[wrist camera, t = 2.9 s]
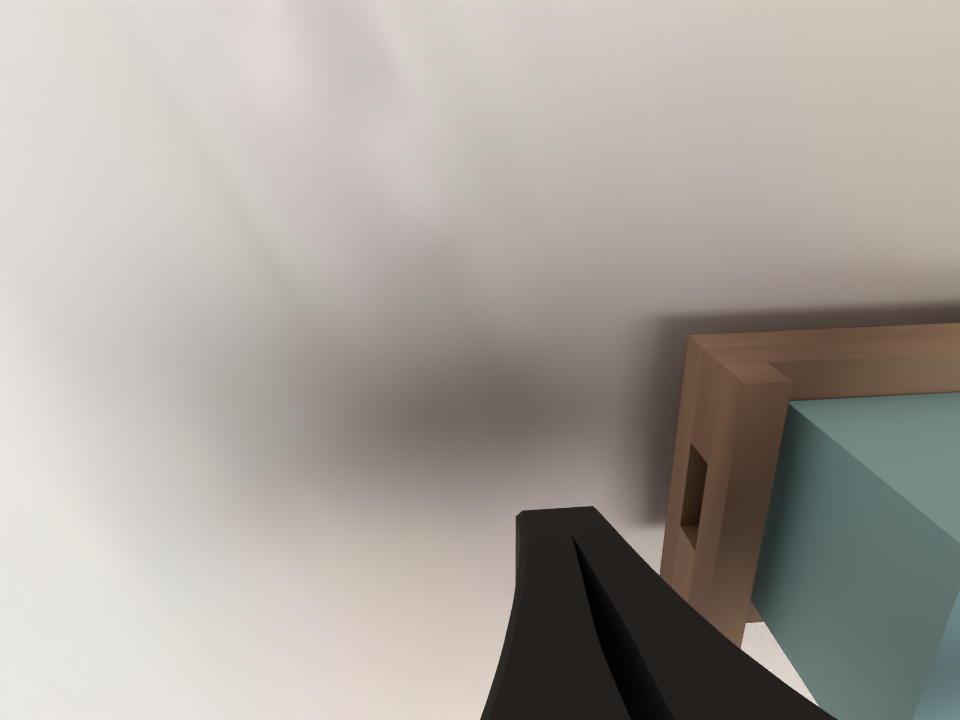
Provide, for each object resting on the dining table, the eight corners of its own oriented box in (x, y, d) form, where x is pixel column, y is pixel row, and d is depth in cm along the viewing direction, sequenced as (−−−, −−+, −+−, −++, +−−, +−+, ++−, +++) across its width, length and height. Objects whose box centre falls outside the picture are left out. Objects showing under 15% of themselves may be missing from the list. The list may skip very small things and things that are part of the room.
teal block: (990, 372, 12) (1324, 528, 7) (929, 557, 13) (1170, 774, 9) (765, 383, 11) (972, 554, 7) (731, 571, 13) (882, 802, 9)
